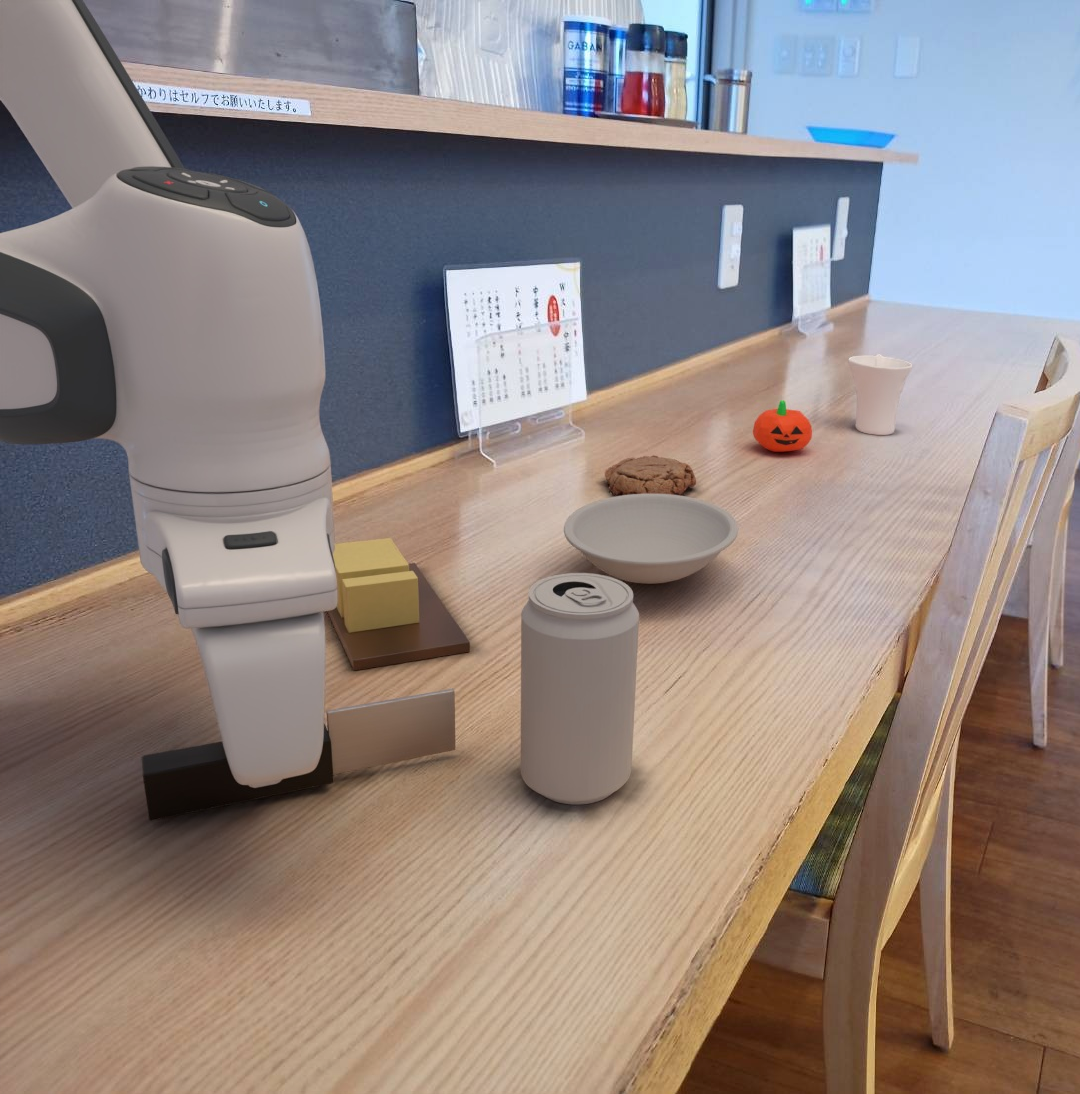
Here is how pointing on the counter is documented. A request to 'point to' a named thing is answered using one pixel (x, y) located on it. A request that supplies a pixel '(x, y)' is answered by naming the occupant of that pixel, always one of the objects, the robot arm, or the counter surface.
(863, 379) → the cup
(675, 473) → the cookie
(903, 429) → the counter surface
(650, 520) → the dish
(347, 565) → the butter
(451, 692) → the knife
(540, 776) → the beverage can
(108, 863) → the counter surface
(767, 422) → the pumpkin
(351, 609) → the butter slice
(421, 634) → the butter board
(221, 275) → the robot arm
